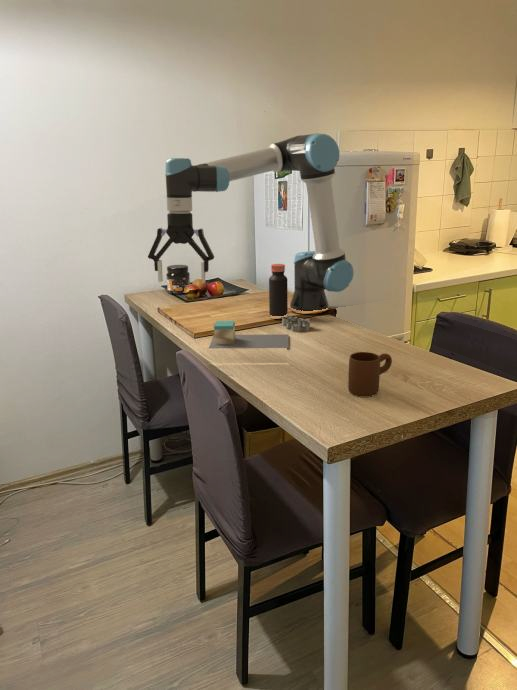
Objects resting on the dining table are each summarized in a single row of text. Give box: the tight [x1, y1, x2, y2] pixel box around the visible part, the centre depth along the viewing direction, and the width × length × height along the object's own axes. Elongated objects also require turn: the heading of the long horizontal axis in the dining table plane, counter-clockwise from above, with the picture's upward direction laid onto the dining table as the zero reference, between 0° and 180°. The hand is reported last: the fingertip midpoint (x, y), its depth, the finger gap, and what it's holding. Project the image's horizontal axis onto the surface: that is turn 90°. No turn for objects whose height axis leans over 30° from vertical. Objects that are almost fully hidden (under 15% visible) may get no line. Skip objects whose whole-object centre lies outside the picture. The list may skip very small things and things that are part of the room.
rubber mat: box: [208, 333, 289, 351], centre depth 176 cm, size 25×14×1 cm, turn 87°
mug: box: [347, 351, 393, 397], centre depth 136 cm, size 12×8×9 cm, turn 115°
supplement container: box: [166, 264, 191, 295], centre depth 247 cm, size 10×10×12 cm
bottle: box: [268, 263, 289, 316], centre depth 201 cm, size 7×7×20 cm
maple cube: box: [213, 320, 236, 344], centre depth 175 cm, size 6×6×6 cm
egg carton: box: [281, 315, 312, 333], centre depth 191 cm, size 11×8×4 cm
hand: (182, 282), depth 170 cm, fingers open, 13 cm apart
